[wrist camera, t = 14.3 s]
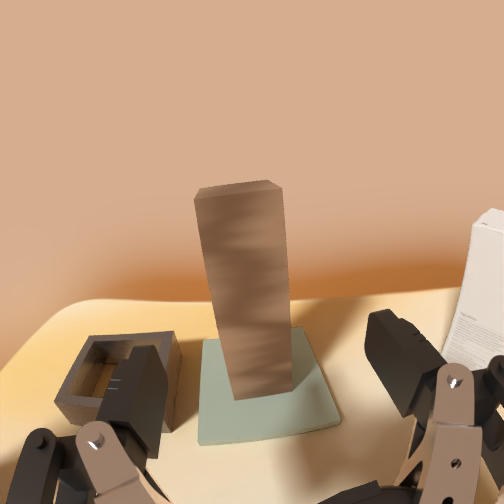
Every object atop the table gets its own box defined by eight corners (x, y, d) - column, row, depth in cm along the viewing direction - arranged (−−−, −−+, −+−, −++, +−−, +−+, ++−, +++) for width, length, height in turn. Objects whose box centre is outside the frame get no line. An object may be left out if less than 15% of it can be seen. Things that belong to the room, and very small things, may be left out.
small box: (487, 396, 14) (546, 246, 9) (434, 367, 19) (469, 222, 14) (508, 346, 17) (545, 222, 12) (464, 325, 22) (489, 206, 18)
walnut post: (281, 355, 24) (267, 179, 18) (292, 391, 19) (282, 188, 14) (231, 362, 23) (199, 188, 18) (234, 400, 19) (193, 199, 14)
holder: (181, 354, 26) (173, 330, 24) (171, 432, 17) (157, 410, 16) (100, 357, 25) (89, 335, 24) (71, 423, 16) (53, 401, 15)
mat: (302, 330, 27) (301, 326, 27) (340, 423, 16) (341, 419, 16) (204, 344, 27) (203, 340, 27) (199, 445, 16) (197, 441, 15)
